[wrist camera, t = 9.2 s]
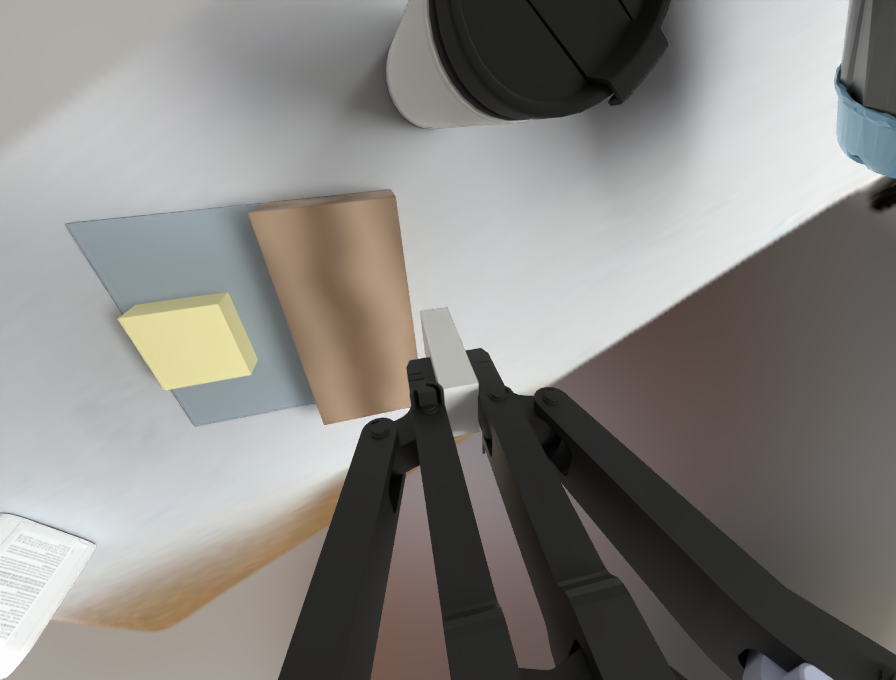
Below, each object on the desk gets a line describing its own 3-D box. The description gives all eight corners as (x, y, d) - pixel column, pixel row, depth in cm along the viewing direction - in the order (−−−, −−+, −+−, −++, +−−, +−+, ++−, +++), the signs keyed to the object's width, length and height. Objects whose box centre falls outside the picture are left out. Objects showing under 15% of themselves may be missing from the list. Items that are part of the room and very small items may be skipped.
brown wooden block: (390, 189, 28) (395, 197, 25) (418, 380, 39) (424, 404, 35) (261, 203, 26) (247, 213, 23) (327, 398, 37) (324, 425, 34)
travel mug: (440, 150, 27) (572, 176, 11) (368, 85, 24) (395, -24, 8) (490, 75, 26) (742, -35, 9) (419, -6, 22) (603, -411, 6)
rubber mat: (261, 203, 26) (260, 203, 26) (327, 398, 37) (326, 400, 37) (68, 223, 24) (65, 224, 24) (196, 424, 35) (194, 426, 35)
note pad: (117, 318, 26) (135, 304, 28) (164, 390, 29) (177, 373, 31) (217, 303, 27) (228, 291, 29) (251, 375, 30) (257, 359, 32)
